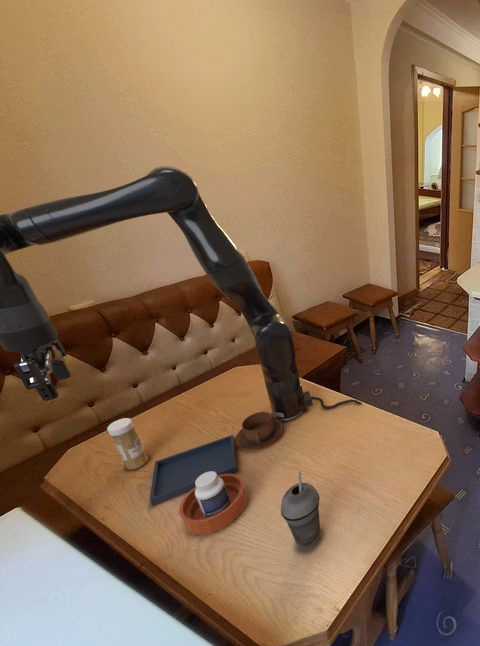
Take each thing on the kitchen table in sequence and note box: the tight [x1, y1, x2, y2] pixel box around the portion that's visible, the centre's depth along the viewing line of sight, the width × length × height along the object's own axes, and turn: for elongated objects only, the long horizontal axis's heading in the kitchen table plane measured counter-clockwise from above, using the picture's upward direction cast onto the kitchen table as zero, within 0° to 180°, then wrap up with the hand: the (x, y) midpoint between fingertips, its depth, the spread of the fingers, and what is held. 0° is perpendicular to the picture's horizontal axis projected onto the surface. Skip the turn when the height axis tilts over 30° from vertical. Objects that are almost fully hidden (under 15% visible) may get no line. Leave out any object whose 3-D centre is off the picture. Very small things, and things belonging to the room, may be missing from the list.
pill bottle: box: [195, 471, 230, 518], centre depth 80 cm, size 5×5×10 cm
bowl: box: [178, 473, 249, 536], centre depth 82 cm, size 12×12×4 cm
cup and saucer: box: [235, 411, 284, 450], centre depth 102 cm, size 12×12×6 cm
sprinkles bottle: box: [106, 417, 149, 470], centre depth 91 cm, size 5×5×14 cm
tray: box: [149, 434, 239, 507], centre depth 92 cm, size 17×13×2 cm
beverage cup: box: [280, 471, 321, 552], centre depth 73 cm, size 7×7×20 cm
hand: (58, 388), depth 78 cm, fingers open, 8 cm apart
